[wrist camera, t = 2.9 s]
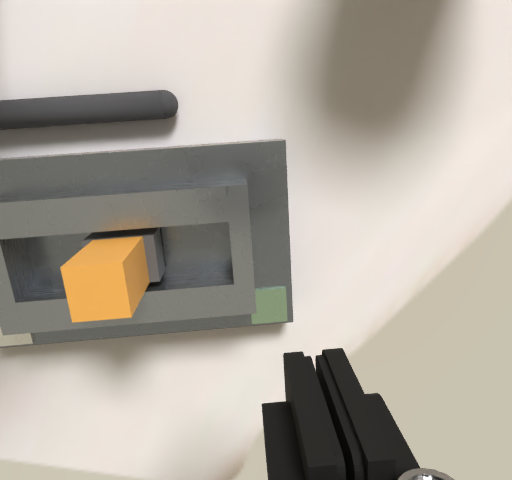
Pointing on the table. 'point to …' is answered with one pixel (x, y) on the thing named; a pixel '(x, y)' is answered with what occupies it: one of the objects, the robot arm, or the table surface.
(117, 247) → the breaker lever
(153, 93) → the rod
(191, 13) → the table surface
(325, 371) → the robot arm
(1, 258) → the panel
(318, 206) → the table surface
